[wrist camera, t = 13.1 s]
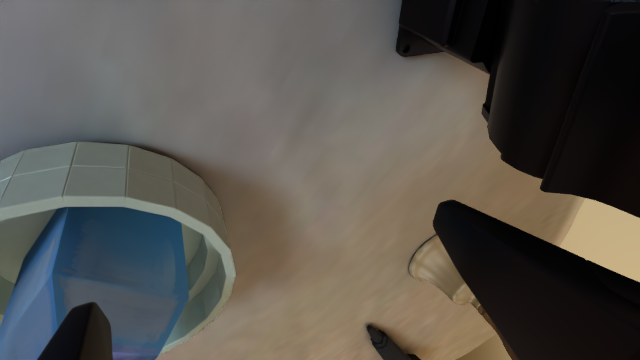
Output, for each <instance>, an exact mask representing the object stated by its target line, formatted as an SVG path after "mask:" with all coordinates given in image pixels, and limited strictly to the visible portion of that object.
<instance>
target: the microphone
mask: <svg viewBox="0 0 640 360" xmlns="http://www.w3.org/2000/svg"><path fill="white" fill-rule="evenodd" d="M367 330H368V332H369V334H370V336H371V341H372V344H373V346H374V347H375V349H376V350H377V351H378V353H379V354H380V355H381V357H382V358H383V359H384V360H420V359H419V358H418V357H417V356H416V355H414V354H406V353H405V352H404V351H403V350H402V349H401V348H400V347H399V346H398V345H396V344H395V343H394V342H393V341H392V340H391V339H390V338H389V337H388V336H387V335H386V334H385V333H384V332H381V331H380V330H379V331H378V330H376V329H375V328H373V327H372V326H370V325H368V326H367Z"/></svg>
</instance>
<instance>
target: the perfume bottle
mask: <svg viewBox="0 0 640 360" xmlns="http://www.w3.org/2000/svg"><path fill="white" fill-rule="evenodd" d="M188 300H189V290H188V280H187V271H186V262H185V253H184V243H183V234H182V225H181V223H180V222H178V221H177V220H175V219H173V218H171V217H168V216H163V215H159V214H154V213H149V212H145V211H140V210H136V209H131V208H126V207H63V208H58V209H57V210H56V211H55V213H54V214H53V216H52V217H51V219H50V220H49V222H48V223H47V225H46V226H45V228H44V229H43V231H42V232H41V234H40V235H39V237H38V238H37V240H36V241H35V243H34V244H33V246H32V247H31V249H30V250H29V252H28V253H27V255H26V256H25V257H24V259H23V262H22V265H21V268H20V271H19V274H18V277H17V280H16V282H15V285H14V288H13V291H12V294H11V297H10V300H9V303H8V306H7V309H6V312H5V315H4V318H3V320H2V323H1V326H0V360H37V358H38V357H39V355H40V354H41V353H42V351H43V350H44V348H45V347H46V345H47V344H48V342H49V341H50V339H51V338H52V336H53V335H54V333H55V332H56V330H57V329H58V327H59V326H60V324H61V323H62V321H63V320H64V318H65V317H66V315H67V314H68V313H69V311H70V310H71V309H72V308H73V307H75V306H78V305H81V304H85V303H88V302H95V303H97V304H98V306H99V307H100V308H101V310H102V311H103V313H104V314H105V316H106V317H107V318H108V320H109V322H110V325H111V333H112V352H113V360H155V359H156V358H157V357H158V355H159V354H160V352H161V350H162V348H163V346H164V345H165V343H166V341H167V339H168V337H169V335H170V334H171V332H172V330H173V328H174V326H175V324H176V322H177V321H178V319H179V317H180V315H181V313H182V311H183V309H184V308H185V306H186V304H187V302H188Z"/></svg>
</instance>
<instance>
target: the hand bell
mask: <svg viewBox="0 0 640 360" xmlns="http://www.w3.org/2000/svg"><path fill="white" fill-rule="evenodd" d="M409 273H410V275H411V276H412V277H413V278H415V279H417V280H419V281H426V282H429V283H431V284H433V285H435V286H436V287H438V288H439V289H440V290H441V291H443V292H444V293H445V294H446V295H447V296H448V297H449V298H450V299H451V300H452V301H453V302H454V303H455V304H459V305H462V304H467V303H470V304H472V305H473V306H474V307H475V308H476V309H477V310H478V312H479V313H480V314H481V315H483V317H484V318H485V320H486V321H487V322H488V323H489V324H490V325H491V326H492V327H493V329H494V330H495V331H496V332H497V334H498V335H499V337H500V339H501V340H502V342H503V345H504V347H505V349H506V351H507V352H508V354H509V356H510V357H511V359H512V360H519V359H518V358H517V357H516V355H515V354H514V352H513V351H512V349H511V348H510V347H509V345H508V344H507V342H506V341H505V339H504V338H503V336H502V335H501V334H500V332H499V331H498V329H497V328H496V326H495V325H494V323H493V322H492V321H491V319H490V318H489V316H488V315H487V313H486V312H485V311H484V309H483V308H482V306H481V305H480V303H479V302H478V300H477V299H476V298H475V296H474V295H473V293H472V292H471V290H470V289H469V287H468V286H467V285H466V283H465V282H464V280H463V279H462V277H461V276H460V274H459V273H458V271H457V269H456V268H455V266H454V264H453V262H452V261H451V259H450V257H449V255H448V253H447V252H446V250H445V248H444V246H443V244H442V243H441V241H440V239H439V237H438V235H436V236H434V237H433V238H431V239H430V240H429V241H427V242H426V243H425V244H424V245H423V246H422V247H421V248H420V249H419V250H418V251H417V252H416V254H415V255H414V257H413V259H412V261H411V262H410V266H409Z"/></svg>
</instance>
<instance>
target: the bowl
mask: <svg viewBox="0 0 640 360" xmlns="http://www.w3.org/2000/svg"><path fill="white" fill-rule="evenodd" d="M63 207H126V208H131V209H136V210H140V211H145V212H149V213H154V214H159V215H163V216H168V217H171V218H173V219H175V220H177V221H178V222H180V223H181V225H182V234H183V243H184V253H185V262H186V271H187V280H188V290H189V300H188V302H187V304H186V306H185V308H184V309H183V311H182V313H181V315H180V317H179V319H178V321H177V322H176V324H175V326H174V328H173V330H172V332H171V334H170V335H169V337H168V339H167V341H166V343H165V345H164V346H163V348H162V350H161V352H160V354H159V355H161V354H163V353H165V352H167V351H169V350H171V349H173V348H174V347H176V346H178V345H180V344H182V343H184V342H186V341H188V340H189V339H191V338H192V337H193V336H195V335H196V334H197V333H198V332H200V331H201V330H202V329H203V328H204V327H206V326H207V325H208V324H209V323H211V322H212V321H213V320H214V319H215V318H216V317H217V315H218V314H219V312H220V311H221V310H222V308H223V307H224V306H225V304H226V303H227V302H228V300H229V299H230V296H231V292H232V288H233V285H234V281H235V277H236V270H235V266H234V261H233V257H232V252H231V248H230V244H229V240H228V236H227V232H226V228H225V223H224V219H223V215H222V211H221V207H220V203H219V201H218V199H217V198H216V197H215V195H214V194H213V193H212V191H211V190H210V189H209V187H208V186H207V185H206V183H205V182H204V181H203V179H201V177H199V176H198V175H196V174H195V173H193V172H192V171H190V170H189V169H187V168H185V167H184V166H182V165H181V164H179V163H178V162H176V161H175V160H173V159H171V158H169V157H166V156H162V155H159V154H156V153H153V152H150V151H147V150H144V149H140V148H137V147H134V146H131V145H123V144H109V143H95V142H82V141H80V142H70V143H64V144H57V145H51V146H45V147H39V148H32V149H27V150H23V151H21V152H18V153H16V154H14V155H12V156H10V157H7V158H5V159H3V160H1V161H0V326H1V323H2V320H3V318H4V315H5V312H6V309H7V306H8V303H9V300H10V297H11V294H12V291H13V288H14V285H15V282H16V280H17V277H18V274H19V271H20V268H21V265H22V262H23V259H24V257H25V256H26V255H27V253H28V252H29V250H30V249H31V247H32V246H33V244H34V243H35V241H36V240H37V238H38V237H39V235H40V234H41V232H42V231H43V229H44V228H45V226H46V225H47V223H48V222H49V220H50V219H51V217H52V216H53V214H54V213H55V211H56V210H57V209H58V208H63ZM159 355H158V356H159Z"/></svg>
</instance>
